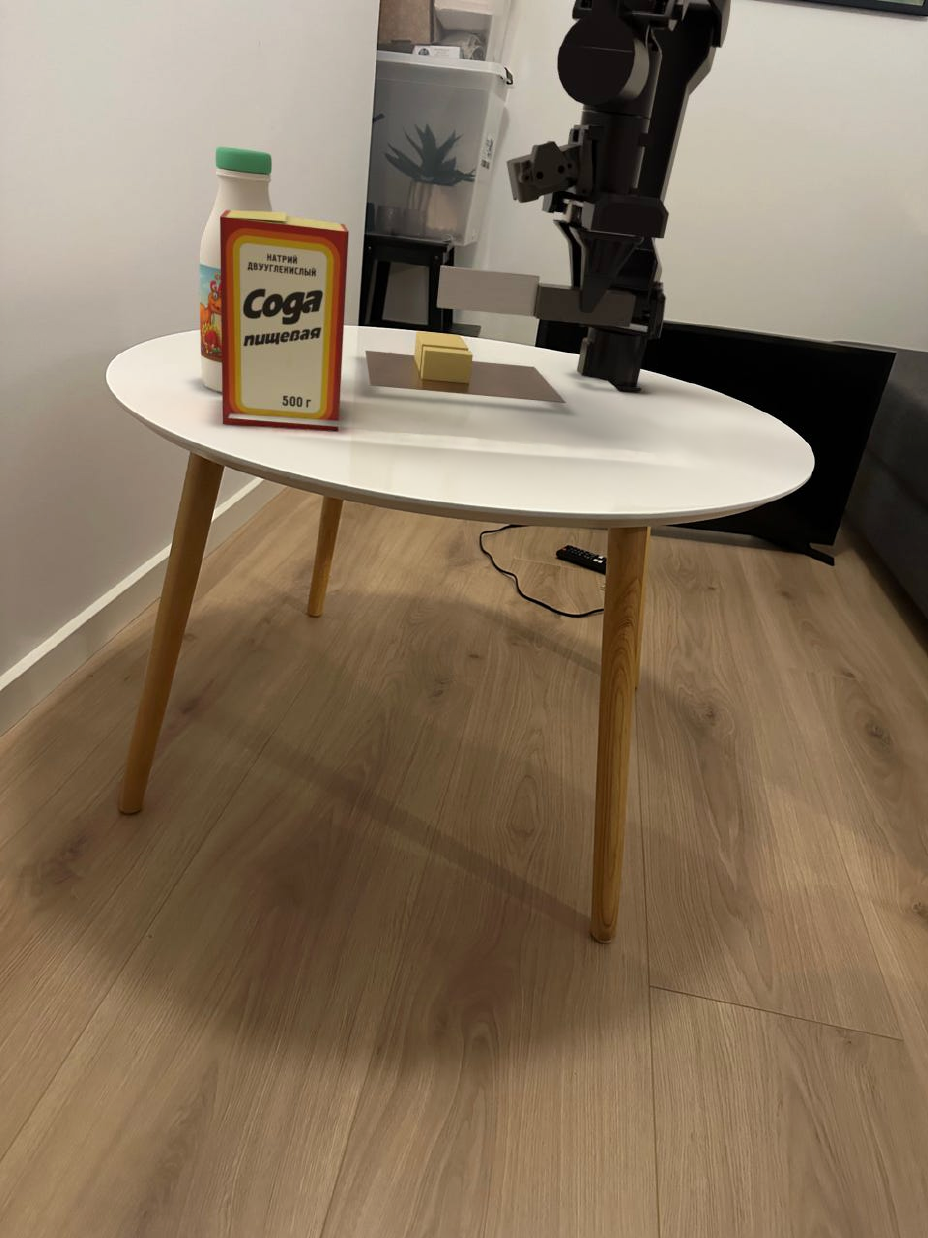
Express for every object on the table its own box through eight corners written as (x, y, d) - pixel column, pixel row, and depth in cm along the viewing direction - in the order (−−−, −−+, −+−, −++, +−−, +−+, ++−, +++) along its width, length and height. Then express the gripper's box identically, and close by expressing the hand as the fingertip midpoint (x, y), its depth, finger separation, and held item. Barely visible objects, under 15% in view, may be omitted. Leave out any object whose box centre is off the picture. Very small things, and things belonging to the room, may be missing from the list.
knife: (622, 322, 81) (629, 283, 80) (629, 327, 79) (637, 287, 78) (435, 304, 78) (439, 263, 77) (438, 309, 76) (442, 267, 74)
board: (533, 375, 102) (534, 366, 101) (564, 412, 88) (566, 402, 87) (364, 359, 98) (365, 350, 98) (369, 395, 84) (370, 384, 84)
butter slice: (467, 379, 91) (470, 350, 90) (469, 383, 89) (472, 354, 88) (420, 375, 90) (423, 346, 89) (421, 379, 89) (424, 349, 87)
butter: (457, 361, 98) (460, 335, 97) (465, 376, 92) (468, 347, 91) (414, 357, 97) (416, 330, 96) (419, 372, 91) (422, 343, 90)
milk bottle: (193, 376, 83) (187, 140, 73) (272, 376, 86) (275, 152, 77) (212, 398, 77) (207, 145, 67) (295, 397, 80) (302, 157, 71)
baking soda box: (335, 410, 78) (344, 218, 71) (338, 431, 73) (348, 226, 65) (227, 402, 76) (225, 204, 69) (222, 423, 71) (219, 211, 63)
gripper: (502, 104, 78) (481, 284, 86) (548, 99, 62) (517, 321, 70) (617, 120, 80) (587, 295, 88) (691, 120, 64) (646, 333, 72)
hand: (582, 309), depth 79 cm, fingers closed on knife, 2 cm apart
